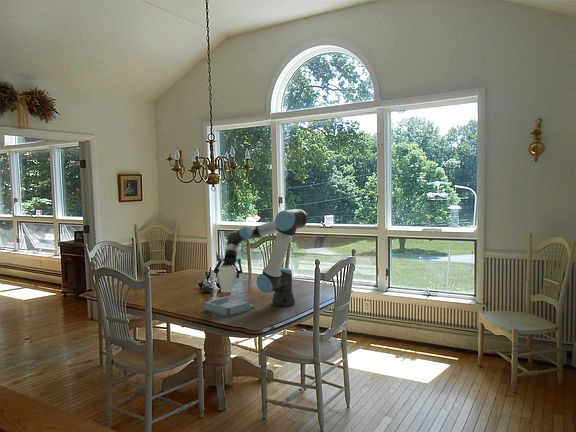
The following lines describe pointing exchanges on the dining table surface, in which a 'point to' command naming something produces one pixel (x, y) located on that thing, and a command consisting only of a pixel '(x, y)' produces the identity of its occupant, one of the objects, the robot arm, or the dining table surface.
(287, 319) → the dining table surface
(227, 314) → the tray
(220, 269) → the jar
